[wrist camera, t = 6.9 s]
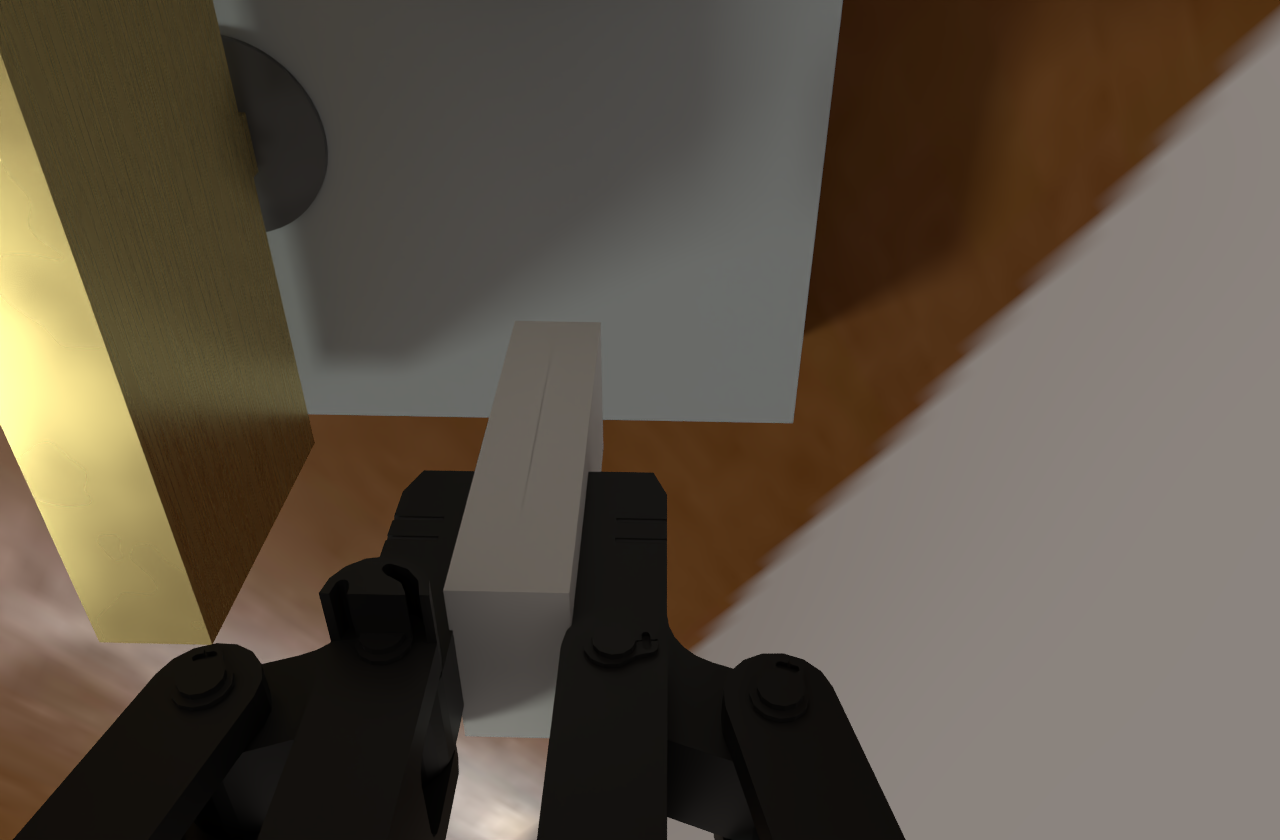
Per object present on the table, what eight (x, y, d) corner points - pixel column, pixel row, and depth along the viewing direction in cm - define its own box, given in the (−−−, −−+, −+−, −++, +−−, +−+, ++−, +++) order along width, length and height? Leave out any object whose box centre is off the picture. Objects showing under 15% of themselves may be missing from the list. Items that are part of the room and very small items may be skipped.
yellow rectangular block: (329, 413, 23) (212, 644, 17) (245, 411, 23) (99, 642, 17) (186, -257, 15) (-112, -260, 10) (62, -259, 15) (-312, -262, 10)
